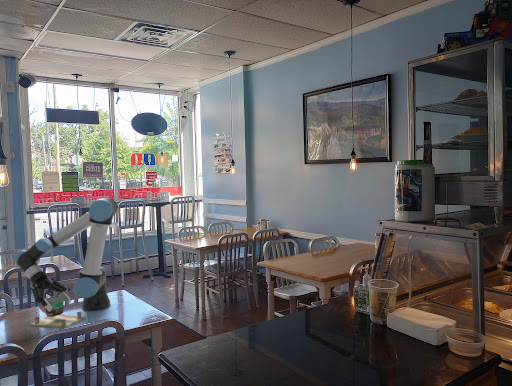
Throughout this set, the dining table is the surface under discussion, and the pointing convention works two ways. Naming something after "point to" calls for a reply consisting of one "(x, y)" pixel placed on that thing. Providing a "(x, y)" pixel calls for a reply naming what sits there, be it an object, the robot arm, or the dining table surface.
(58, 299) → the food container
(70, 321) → the pin plate
